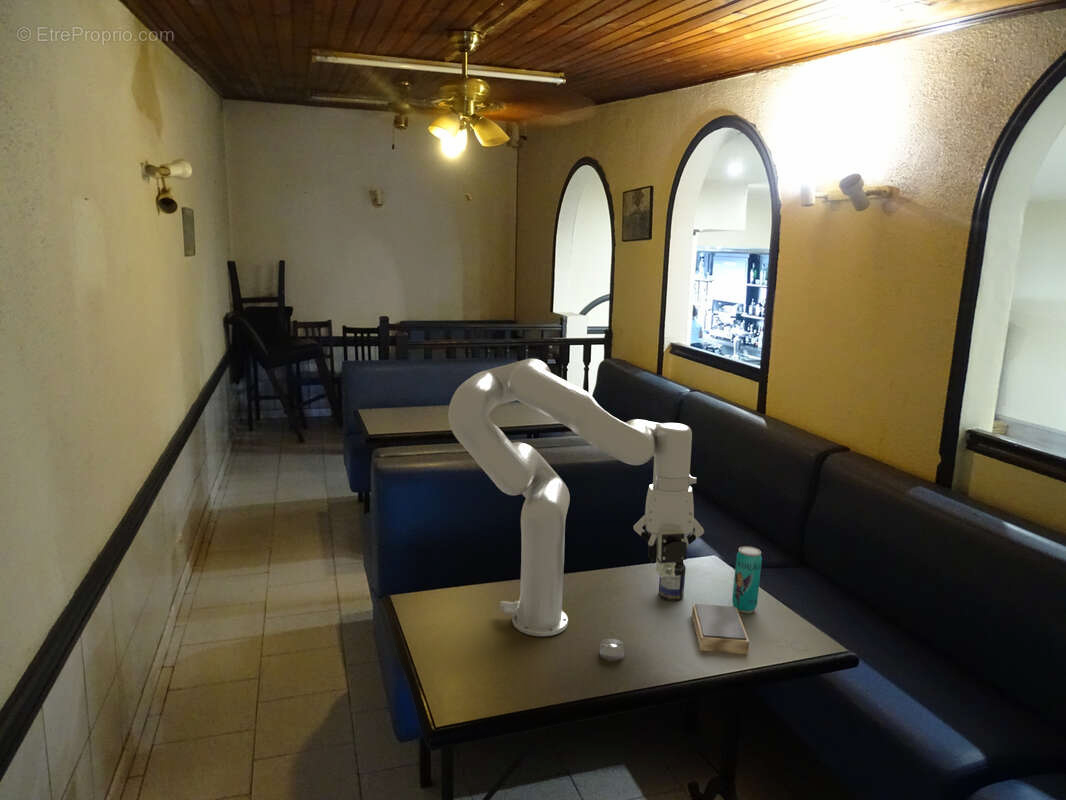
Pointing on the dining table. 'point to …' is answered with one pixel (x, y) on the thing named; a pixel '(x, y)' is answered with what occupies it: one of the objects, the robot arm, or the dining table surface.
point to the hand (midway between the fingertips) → (666, 560)
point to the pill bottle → (673, 584)
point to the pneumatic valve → (669, 551)
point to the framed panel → (719, 629)
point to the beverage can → (747, 579)
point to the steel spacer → (611, 649)
